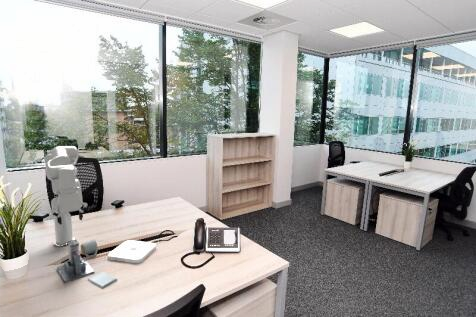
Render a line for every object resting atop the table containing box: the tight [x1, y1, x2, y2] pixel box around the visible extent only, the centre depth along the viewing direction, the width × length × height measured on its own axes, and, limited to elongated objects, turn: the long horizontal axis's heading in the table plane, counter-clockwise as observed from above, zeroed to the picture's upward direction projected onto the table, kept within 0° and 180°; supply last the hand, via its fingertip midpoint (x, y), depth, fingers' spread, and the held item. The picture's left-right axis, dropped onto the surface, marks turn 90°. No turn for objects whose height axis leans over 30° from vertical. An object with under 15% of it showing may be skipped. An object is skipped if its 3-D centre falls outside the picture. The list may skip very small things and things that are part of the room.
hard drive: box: [87, 271, 118, 289], centre depth 144 cm, size 2×8×12 cm
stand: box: [56, 252, 95, 284], centre depth 151 cm, size 18×14×12 cm
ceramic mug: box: [80, 239, 99, 259], centre depth 169 cm, size 11×8×8 cm
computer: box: [107, 239, 157, 264], centre depth 173 cm, size 22×22×3 cm
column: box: [67, 239, 80, 266], centre depth 150 cm, size 6×4×15 cm, turn 44°
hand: (70, 221), depth 149 cm, fingers open, 9 cm apart
